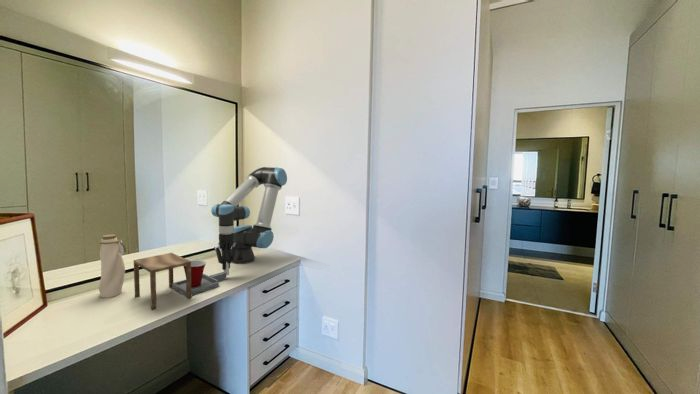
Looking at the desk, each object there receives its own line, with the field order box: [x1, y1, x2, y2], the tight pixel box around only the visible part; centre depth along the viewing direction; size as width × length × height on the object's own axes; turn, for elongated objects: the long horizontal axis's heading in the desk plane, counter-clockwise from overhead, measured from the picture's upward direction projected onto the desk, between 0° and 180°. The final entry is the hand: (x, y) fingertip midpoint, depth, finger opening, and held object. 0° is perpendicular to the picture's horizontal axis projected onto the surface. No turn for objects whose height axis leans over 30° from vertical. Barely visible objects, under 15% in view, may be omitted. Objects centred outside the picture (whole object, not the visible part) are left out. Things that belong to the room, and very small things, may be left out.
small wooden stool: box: [133, 252, 192, 311], centre depth 133 cm, size 16×20×17 cm
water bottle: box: [98, 233, 127, 298], centre depth 134 cm, size 10×9×28 cm
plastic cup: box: [183, 259, 207, 287], centre depth 146 cm, size 11×11×12 cm
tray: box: [171, 271, 227, 297], centre depth 149 cm, size 24×16×3 cm, turn 144°
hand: (226, 274), depth 159 cm, fingers closed
